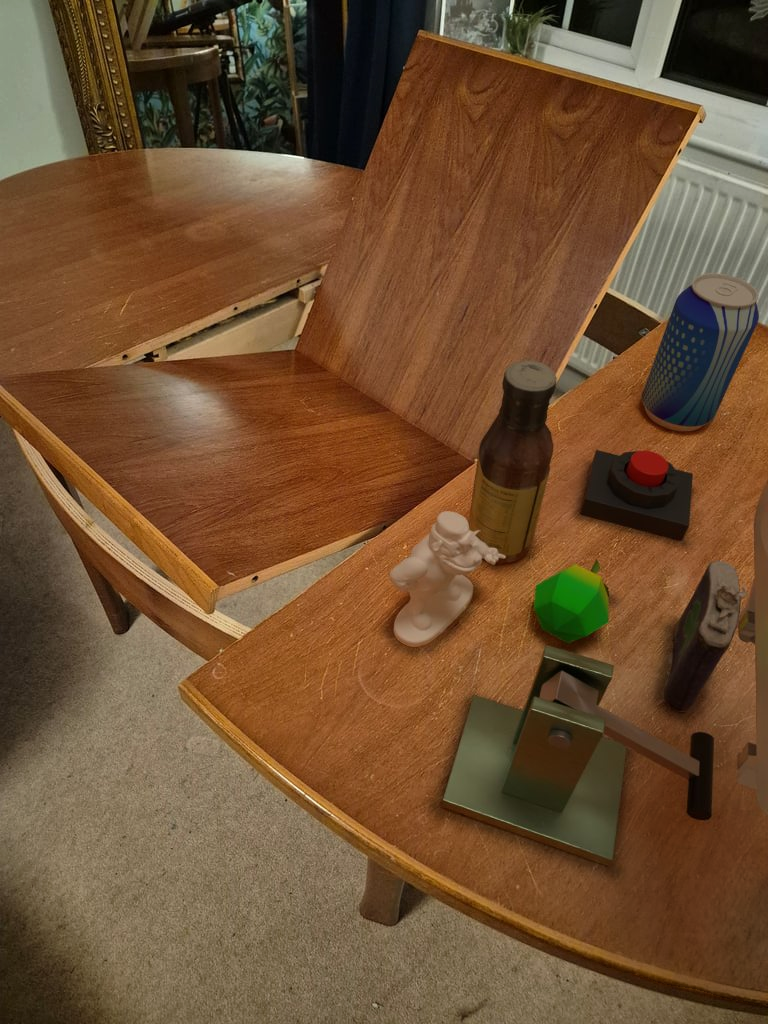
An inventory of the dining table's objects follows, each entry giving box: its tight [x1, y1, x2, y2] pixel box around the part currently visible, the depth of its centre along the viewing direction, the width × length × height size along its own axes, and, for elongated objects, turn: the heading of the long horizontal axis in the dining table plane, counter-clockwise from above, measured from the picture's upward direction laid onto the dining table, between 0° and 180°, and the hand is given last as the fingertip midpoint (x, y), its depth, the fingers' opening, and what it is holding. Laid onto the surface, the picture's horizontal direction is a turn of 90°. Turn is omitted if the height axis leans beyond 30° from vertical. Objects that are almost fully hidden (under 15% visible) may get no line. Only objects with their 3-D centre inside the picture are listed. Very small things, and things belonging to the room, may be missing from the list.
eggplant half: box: [661, 560, 748, 713], centre depth 59 cm, size 9×3×11 cm, turn 157°
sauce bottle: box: [468, 360, 557, 565], centre depth 64 cm, size 6×6×20 cm
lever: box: [539, 670, 715, 822], centre depth 47 cm, size 12×6×2 cm, turn 71°
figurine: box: [388, 510, 506, 648], centre depth 61 cm, size 9×7×12 cm
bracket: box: [440, 644, 628, 867], centre depth 50 cm, size 12×9×13 cm
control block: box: [580, 449, 694, 542], centre depth 75 cm, size 10×8×4 cm
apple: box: [533, 559, 611, 644], centre depth 64 cm, size 7×6×9 cm
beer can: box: [641, 272, 760, 433], centre depth 81 cm, size 8×8×16 cm
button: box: [626, 450, 668, 488], centre depth 73 cm, size 4×4×2 cm
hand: (751, 699), depth 42 cm, fingers open, 8 cm apart
